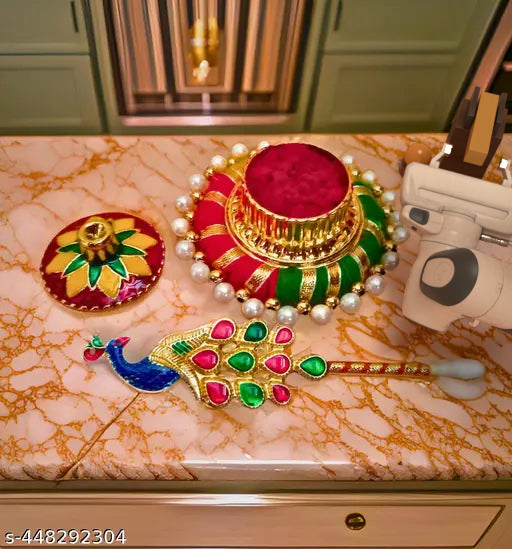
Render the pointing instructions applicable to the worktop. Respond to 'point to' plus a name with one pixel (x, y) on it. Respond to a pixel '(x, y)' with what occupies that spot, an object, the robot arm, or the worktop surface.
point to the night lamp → (416, 156)
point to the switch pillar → (461, 135)
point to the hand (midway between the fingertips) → (476, 151)
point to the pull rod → (481, 129)
